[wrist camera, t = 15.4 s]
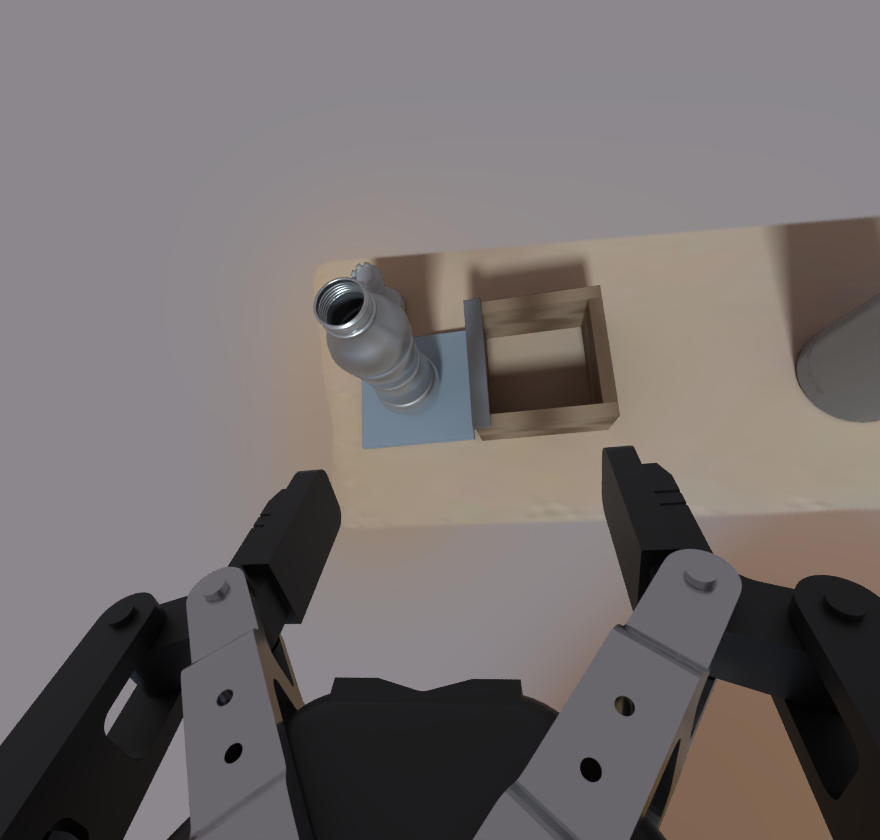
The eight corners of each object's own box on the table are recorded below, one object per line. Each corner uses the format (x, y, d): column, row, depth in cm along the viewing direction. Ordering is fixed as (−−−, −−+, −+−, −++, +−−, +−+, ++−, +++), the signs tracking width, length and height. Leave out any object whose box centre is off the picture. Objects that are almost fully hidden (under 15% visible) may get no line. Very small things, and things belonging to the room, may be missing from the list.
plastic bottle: (374, 383, 49) (276, 292, 30) (426, 351, 49) (362, 239, 30) (400, 432, 47) (315, 368, 28) (455, 399, 47) (406, 312, 28)
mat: (467, 332, 49) (466, 330, 49) (474, 439, 46) (473, 438, 46) (363, 346, 51) (361, 344, 51) (364, 449, 48) (362, 448, 48)
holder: (591, 314, 47) (601, 280, 40) (608, 429, 44) (621, 413, 37) (472, 330, 49) (463, 300, 43) (480, 440, 46) (472, 426, 40)
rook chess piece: (379, 288, 53) (354, 248, 45) (412, 300, 51) (392, 260, 44) (363, 321, 52) (334, 286, 44) (396, 333, 51) (372, 300, 43)
